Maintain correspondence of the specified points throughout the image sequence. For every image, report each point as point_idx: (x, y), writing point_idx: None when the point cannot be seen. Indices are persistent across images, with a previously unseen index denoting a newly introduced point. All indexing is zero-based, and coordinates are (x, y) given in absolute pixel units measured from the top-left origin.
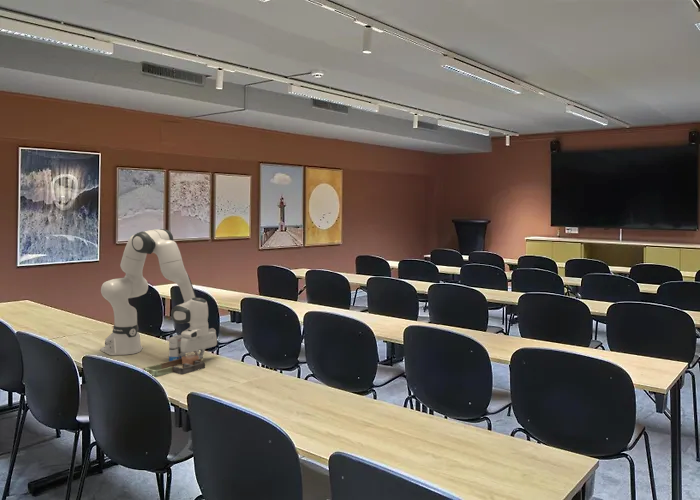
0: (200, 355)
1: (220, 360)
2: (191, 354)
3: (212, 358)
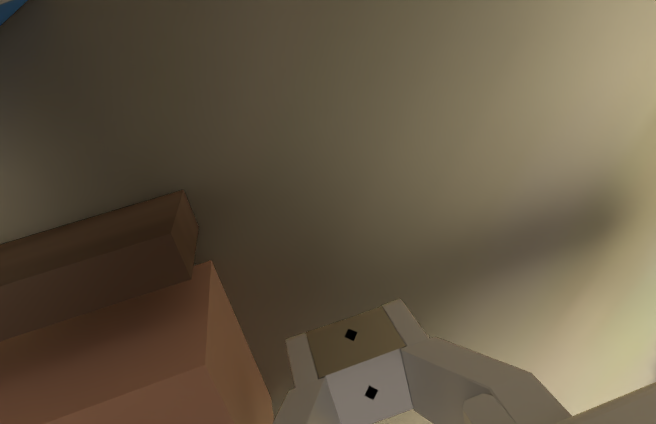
0: (374, 416)
1: (571, 375)
2: (190, 373)
3: (575, 234)
